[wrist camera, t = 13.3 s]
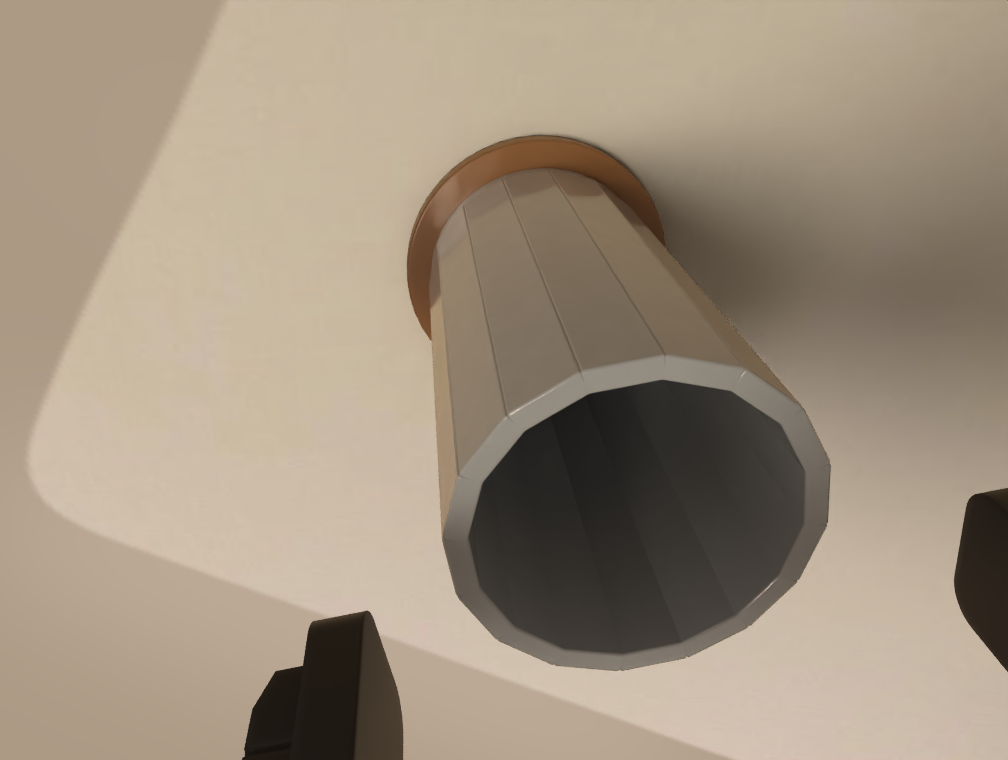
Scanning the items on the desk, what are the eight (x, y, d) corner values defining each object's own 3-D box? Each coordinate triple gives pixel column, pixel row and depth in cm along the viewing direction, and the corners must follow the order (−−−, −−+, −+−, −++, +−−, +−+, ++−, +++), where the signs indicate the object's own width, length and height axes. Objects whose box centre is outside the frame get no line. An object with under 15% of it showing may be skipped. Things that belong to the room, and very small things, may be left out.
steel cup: (408, 190, 20) (407, 405, 11) (637, 147, 20) (839, 321, 11) (453, 390, 23) (483, 699, 14) (653, 351, 23) (823, 632, 14)
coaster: (379, 163, 20) (379, 168, 20) (651, 112, 21) (657, 115, 20) (435, 398, 24) (436, 408, 23) (668, 354, 24) (673, 362, 24)
